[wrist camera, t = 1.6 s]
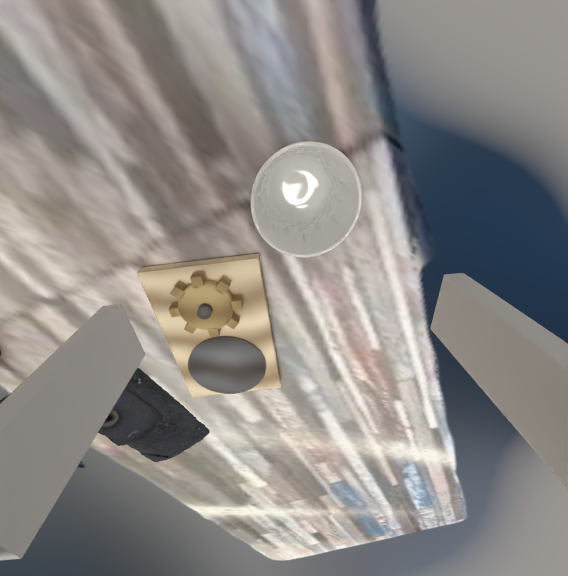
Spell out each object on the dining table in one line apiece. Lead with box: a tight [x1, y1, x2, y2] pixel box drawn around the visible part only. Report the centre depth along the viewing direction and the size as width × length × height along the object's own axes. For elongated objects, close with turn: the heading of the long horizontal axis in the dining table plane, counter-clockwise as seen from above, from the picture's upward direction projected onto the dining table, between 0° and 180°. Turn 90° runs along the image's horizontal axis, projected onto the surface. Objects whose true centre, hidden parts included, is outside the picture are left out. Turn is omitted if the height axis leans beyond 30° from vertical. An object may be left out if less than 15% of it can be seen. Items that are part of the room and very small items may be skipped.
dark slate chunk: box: [98, 369, 209, 462], centre depth 42 cm, size 15×22×5 cm
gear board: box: [137, 253, 281, 397], centre depth 34 cm, size 22×14×4 cm, turn 6°
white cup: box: [251, 141, 362, 257], centre depth 22 cm, size 8×8×10 cm
